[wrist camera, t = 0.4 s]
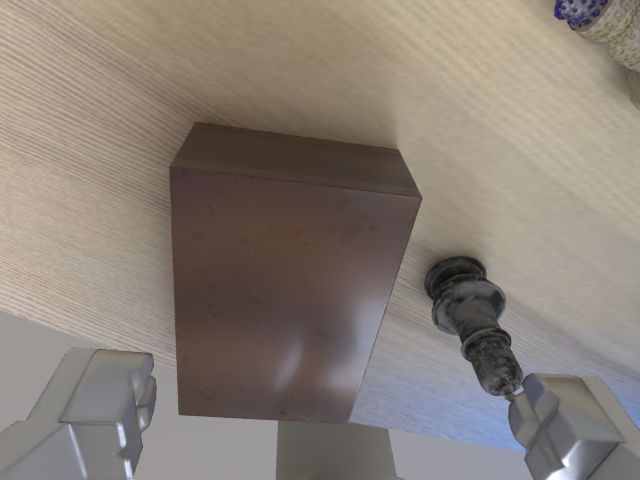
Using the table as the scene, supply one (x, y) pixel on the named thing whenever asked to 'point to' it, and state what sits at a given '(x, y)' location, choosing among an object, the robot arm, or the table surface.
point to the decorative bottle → (609, 31)
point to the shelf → (282, 269)
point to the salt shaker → (475, 322)
